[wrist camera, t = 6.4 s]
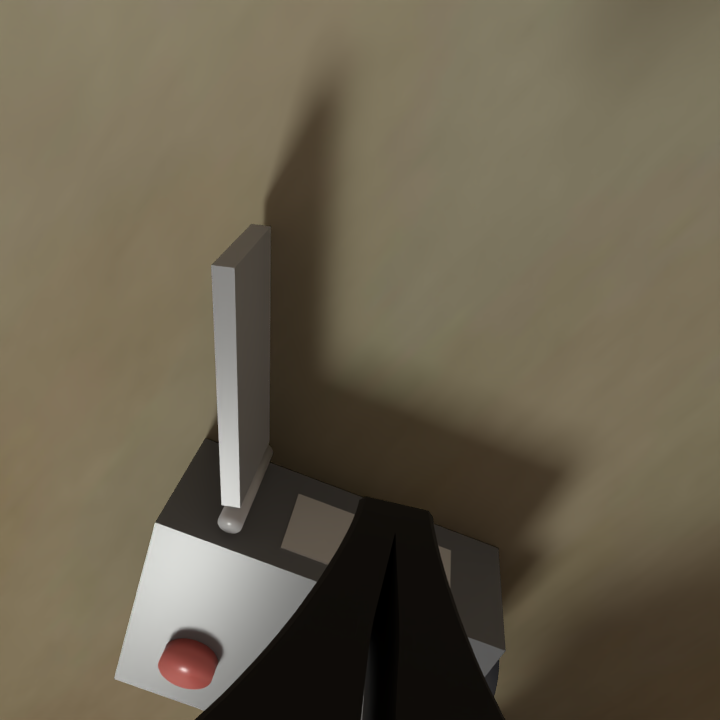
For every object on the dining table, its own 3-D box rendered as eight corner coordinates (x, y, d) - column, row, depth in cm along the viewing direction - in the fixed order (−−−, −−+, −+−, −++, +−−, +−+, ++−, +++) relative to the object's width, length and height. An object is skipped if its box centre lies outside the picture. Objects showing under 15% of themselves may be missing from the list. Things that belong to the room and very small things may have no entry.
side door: (249, 222, 19) (205, 266, 16) (275, 225, 19) (236, 270, 16) (251, 458, 23) (217, 531, 20) (272, 461, 23) (242, 535, 20)
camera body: (527, 557, 24) (542, 679, 20) (434, 684, 29) (429, 806, 24) (205, 437, 24) (147, 534, 19) (161, 586, 28) (106, 693, 24)
